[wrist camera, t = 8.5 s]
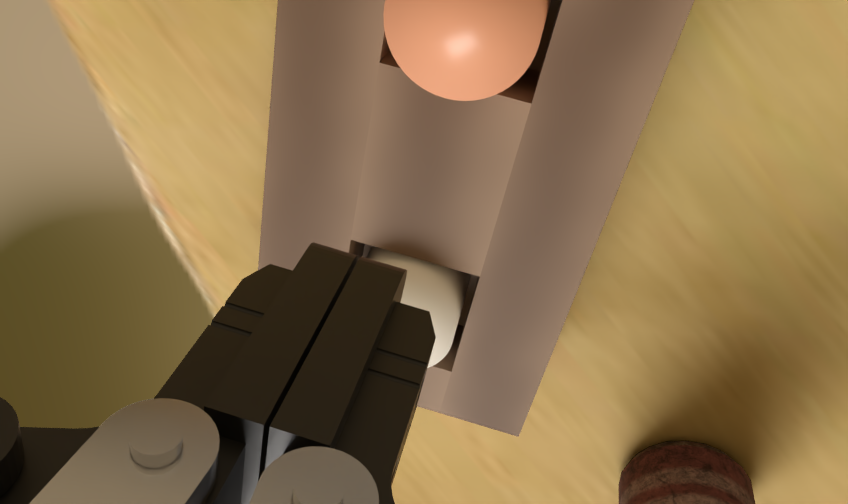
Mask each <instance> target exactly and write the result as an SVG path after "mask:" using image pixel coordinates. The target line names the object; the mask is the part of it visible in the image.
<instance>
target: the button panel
mask: <svg viewBox="0 0 848 504" xmlns="http://www.w3.org/2000/svg"><path fill="white" fill-rule="evenodd" d="M693 2H694V0H551V2H550V6H549V10H548V14H547V18H546V21H545V25H544V29H543V32H542V36H541V40H540V44H539V47H538V50H537V52H536V55H535V57H534V59H533V61H532V63H531V65H530V66H529V67H528V69H527V70H526V72H525V73H524V74H523V75H522V76H521V77H520V78H519V79H518V80H517V81H516V82H515V83H514V84H513V85H511V86H510V87H509V88H507V89H505V90H504V91H502V92H500V93H498V94H496V95H494V96H491V97H488V98H485V99H480V100H474V101H458V100H451V99H446V98H443V97H440V96H437V95H434V94H432V93H430V92H428V91H426V90H425V89H423V88H421V87H420V86H418V85H417V84H416V83H415V82H413V81H412V80H411V79H410V78H409V77H408V76H407V75H406V74H405V73H404V72H403V71H402V69H401V68H400V66H399V65H398V64H397V62H396V60H395V59H394V57H393V55H392V53H391V51H390V48H389V46H388V43H387V39H386V36H385V30H384V18H383V14H384V4H385V0H278V7H277V21H276V34H275V48H274V62H273V75H272V89H271V102H270V116H269V130H268V143H267V157H266V170H265V184H264V198H263V211H262V225H261V238H260V252H259V266H258V270H260V269H262V268H263V267H265V266H267V265H269V264H272V265H276V266H279V267H282V268H286V269H289V270H292V271H293V269H294V268H295V266H296V265H297V263H298V262H299V260H300V259H301V257H302V256H303V254H304V253H305V251H306V250H307V248H308V247H309V245H310V244H311V243H313V242H314V243H318V244H321V245H324V246H328V247H331V248H334V249H338V250H341V251H344V252H348V253H351V254H355V255H358V256H359V259H360V257H365V258H366V257H367V255H368V253H369V251H370V249H371V247H372V246H374V247H378V248H381V249H385V250H388V251H392V252H395V253H399V254H402V255H406V256H409V257H413V258H416V259H420V260H423V261H427V262H430V263H434V264H437V265H441V266H444V267H448V268H451V269H455V270H458V271H461V272H465V273H468V274H470V282H469V285H468V289H467V293H466V296H465V300H464V303H463V307H462V310H461V314H460V318H459V321H458V325H457V328H456V332H455V335H454V339H453V343H452V346H451V348H450V350H449V352H448V353H447V355H446V356H445V357H444V358H443V359H442V360H441V361H440V362H438V363H437V364H435V365H434V366H431V367H429V368H427V371H426V375H425V379H424V382H423V386H422V389H421V393H420V397H419V400H418V404H417V406H418V407H422V408H425V409H428V410H432V411H435V412H438V413H442V414H445V415H448V416H452V417H455V418H458V419H462V420H465V421H468V422H471V423H475V424H478V425H481V426H485V427H488V428H491V429H495V430H498V431H501V432H505V433H508V434H511V435H515V436H519V434H520V431H521V429H522V427H523V424H524V422H525V419H526V417H527V414H528V412H529V409H530V407H531V404H532V402H533V399H534V397H535V394H536V392H537V389H538V387H539V384H540V382H541V379H542V377H543V374H544V372H545V369H546V367H547V365H548V362H549V360H550V357H551V355H552V352H553V350H554V347H555V345H556V342H557V340H558V337H559V335H560V332H561V330H562V327H563V325H564V322H565V320H566V317H567V315H568V312H569V310H570V307H571V305H572V302H573V300H574V298H575V295H576V293H577V290H578V288H579V285H580V283H581V280H582V278H583V275H584V273H585V270H586V268H587V265H588V263H589V260H590V258H591V255H592V253H593V250H594V248H595V245H596V243H597V240H598V238H599V236H600V233H601V231H602V228H603V226H604V223H605V221H606V218H607V216H608V213H609V211H610V208H611V206H612V203H613V201H614V198H615V196H616V193H617V191H618V188H619V186H620V183H621V181H622V178H623V176H624V173H625V171H626V169H627V166H628V164H629V161H630V159H631V156H632V154H633V151H634V149H635V146H636V144H637V141H638V139H639V136H640V134H641V131H642V129H643V126H644V124H645V121H646V119H647V116H648V114H649V111H650V109H651V107H652V104H653V102H654V99H655V97H656V94H657V92H658V89H659V87H660V84H661V82H662V79H663V77H664V74H665V72H666V69H667V67H668V64H669V62H670V59H671V57H672V54H673V52H674V49H675V47H676V44H677V42H678V40H679V37H680V35H681V32H682V30H683V27H684V25H685V22H686V20H687V17H688V15H689V12H690V10H691V7H692V5H693Z"/></svg>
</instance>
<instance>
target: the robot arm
mask: <svg viewBox="0 0 848 504" xmlns="http://www.w3.org/2000/svg"><path fill="white" fill-rule="evenodd" d="M406 275H407V270H406V269H402V268H399V267H396V266H392V265H389V264H385V263H382V262H379V261H375V260H372V259H369V258H365V257H360V259H359V256H358V255H355V254H351V253H348V252H344V251H341V250H338V249H334V248H331V247H328V246H324V245H321V244H318V243H314V242H313V243H311V244H310V245H309V247H308V248H307V250H306V251H305V253H304V254H303V256H302V257H301V259H300V260H299V262H298V263H297V265H296V266H295V268H294V269H293V271H292V270H289V269H286V268H282V267H279V266H276V265H272V264H269V265H267V266H265V267H263V268H262V269H260V270H258V271H256V272H254V273H253V274H251V275H249V276H247V277H246V278H244V279H242V281H241V282H240V283H239V285H238V286H237V287H236V289H235V290H234V291H233V293H232V294H231V296H230V297H229V298H228V300H227V301H226V304H225V306H222V308H221V309H220V310H219V312H218V313H217V314H216V316H215V317H214V318H213V320H212V323H211V325H208V327H207V328H206V329H205V331H204V332H203V333H202V335H201V336H200V337H199V339H198V340H197V341H196V343H195V344H194V345H193V347H192V348H191V349H190V351H189V352H188V354H187V355H186V356H185V358H184V359H183V360H182V362H181V363H180V364H179V366H178V367H177V368H176V370H175V371H174V372H173V374H172V375H171V377H170V378H169V379H168V381H167V382H166V384H165V385H164V386H163V387H162V389H161V390H160V391H159V393H158V394H157V395H156V396H155V398H154V399H148V400H144V401H140V402H136V403H134V404H131V405H128V406H126V407H124V408H122V409H120V410H119V411H117V412H116V413H114V414H113V415H111V416H110V417H109V418H108V419H107V420H106V421H105V422H104V423H103V424H102V425H101V426H100V427H94V428H83V429H65V428H32V427H20V426H19V421H18V417H17V414H16V412H15V411H14V409H13V407H12V406H11V405H10V404H9V403H8V402H6V400H4V399H2V398H0V504H395V503H394V500H393V496H392V489H391V486H392V483H393V480H394V476H395V473H396V470H397V467H398V464H399V461H400V457H401V454H402V451H403V448H404V445H405V442H406V439H407V435H408V432H409V429H410V426H411V423H412V420H413V417H414V413H415V410H416V407H417V404H418V400H419V397H420V393H421V389H422V386H423V382H424V379H425V375H426V371H427V368H428V364H429V361H430V357H431V353H432V350H433V346H434V343H435V339H436V336H435V332H434V328H433V324H432V320H431V315H430V312H429V311H426V310H423V309H419V308H416V307H413V306H409V305H406V304H403V303H400V302H401V298H402V294H403V289H404V285H405V281H406Z"/></svg>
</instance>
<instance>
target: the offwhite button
mask: <svg viewBox="0 0 848 504" xmlns="http://www.w3.org/2000/svg"><path fill="white" fill-rule="evenodd" d="M366 258H369V259H372V260H375V261H379V262H382V263H385V264H389V265H392V266H396V267H399V268H402V269H406V270H407V275H406V281H405V285H404V289H403V294H402V298H401V302H400V303H403V304H406V305H409V306H413V307H416V308H419V309H423V310H426V311H429V312H430V315H431V320H432V324H433V328H434V332H435V336H436V339H435V343H434V346H433V350H432V353H431V357H430V361H429V364H428V368H429V367H431V366H434V365H435V364H437V363H438V362H440V361H441V360H442V359H443V358H444V357H445V356H446V355H447V353H448V352H449V350H450V348H451V346H452V343H453V339H454V335H455V332H456V328H457V325H458V321H459V318H460V314H461V310H462V307H463V303H464V300H465V296H466V293H467V289H468V285H469V282H470V274H468V273H465V272H461V271H458V270H455V269H451V268H448V267H444V266H441V265H437V264H434V263H430V262H427V261H423V260H420V259H416V258H413V257H409V256H406V255H402V254H399V253H395V252H392V251H388V250H385V249H381V248H378V247H374V246H372V247H371V249H370V251H369V253H368V255H367V257H366Z"/></svg>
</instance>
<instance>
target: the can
mask: <svg viewBox="0 0 848 504" xmlns="http://www.w3.org/2000/svg"><path fill="white" fill-rule="evenodd" d="M619 504H755V500H754V495H753V490H752V484H751V480H750V479H749V477H748V475H747V474H746V472H745V471H744V469H743V468H742V467H741V466H740V465H739V464H738V463H736V462H735V461H734V460H733V459H731V458H730V457H729V456H728V455H726V454H725V453H724V452H722V451H721V450H718V449H716V448H713V447H711V446H708V445H706V444H702V443H696V442H690V441H672V442H664V443H660V444H657V445H653V446H650V447H648V448H647V449H645V450H643V451H642V452H640V453H638V454H637V455H636V456H635V457H634V458H633V459H632V460H631V461H630V462H629V464H628V465H627V466H626V467H625V469H624V470H623V471H622V473H621V477H620V482H619Z"/></svg>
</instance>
